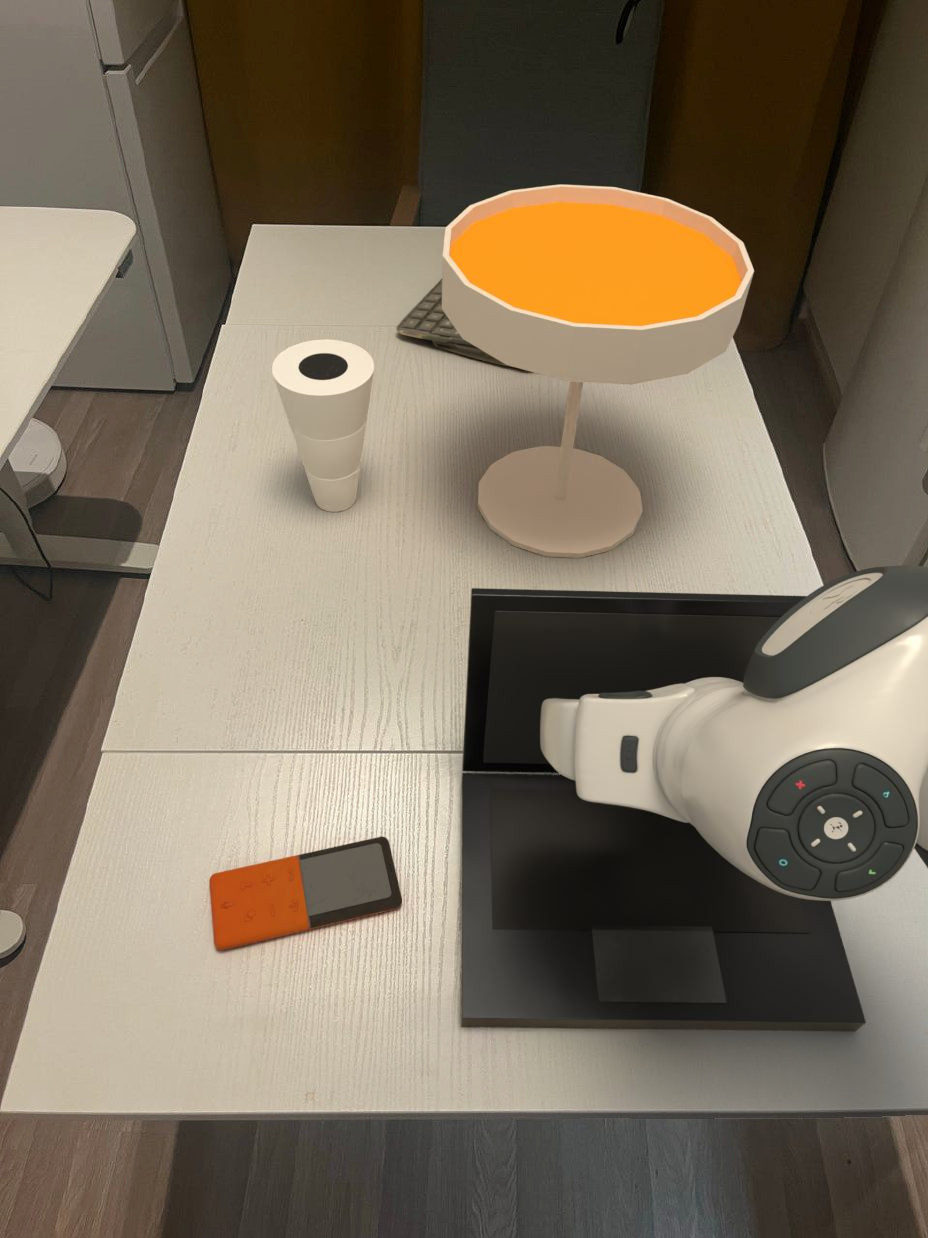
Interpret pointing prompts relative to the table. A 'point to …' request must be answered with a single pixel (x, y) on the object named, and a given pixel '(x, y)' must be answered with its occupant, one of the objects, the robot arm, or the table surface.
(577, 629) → the notebook screen
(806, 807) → the robot arm
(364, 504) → the table surface
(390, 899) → the phone
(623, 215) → the cream stemmed bowl
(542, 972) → the notebook
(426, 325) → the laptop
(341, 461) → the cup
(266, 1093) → the table surface
